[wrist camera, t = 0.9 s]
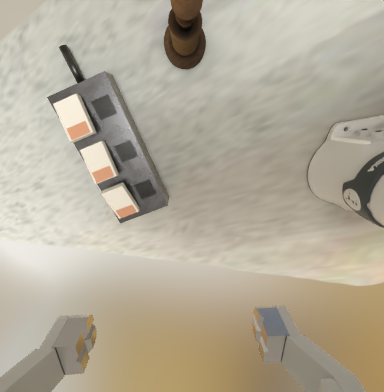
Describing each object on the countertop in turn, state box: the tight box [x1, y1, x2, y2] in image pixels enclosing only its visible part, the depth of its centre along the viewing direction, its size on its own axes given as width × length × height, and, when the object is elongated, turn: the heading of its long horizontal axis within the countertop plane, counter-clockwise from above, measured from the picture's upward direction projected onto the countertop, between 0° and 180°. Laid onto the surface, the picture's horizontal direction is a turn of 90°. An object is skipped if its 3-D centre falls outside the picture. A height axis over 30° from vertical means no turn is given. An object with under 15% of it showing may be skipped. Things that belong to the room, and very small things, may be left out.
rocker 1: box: [53, 94, 97, 142], centre depth 34 cm, size 4×6×1 cm, turn 21°
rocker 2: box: [101, 183, 139, 219], centre depth 40 cm, size 4×6×1 cm, turn 21°
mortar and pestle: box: [164, 0, 206, 69], centre depth 28 cm, size 7×6×18 cm
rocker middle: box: [80, 141, 119, 184], centre depth 37 cm, size 4×6×1 cm, turn 21°
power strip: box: [47, 45, 169, 223], centre depth 39 cm, size 10×30×5 cm, turn 21°
